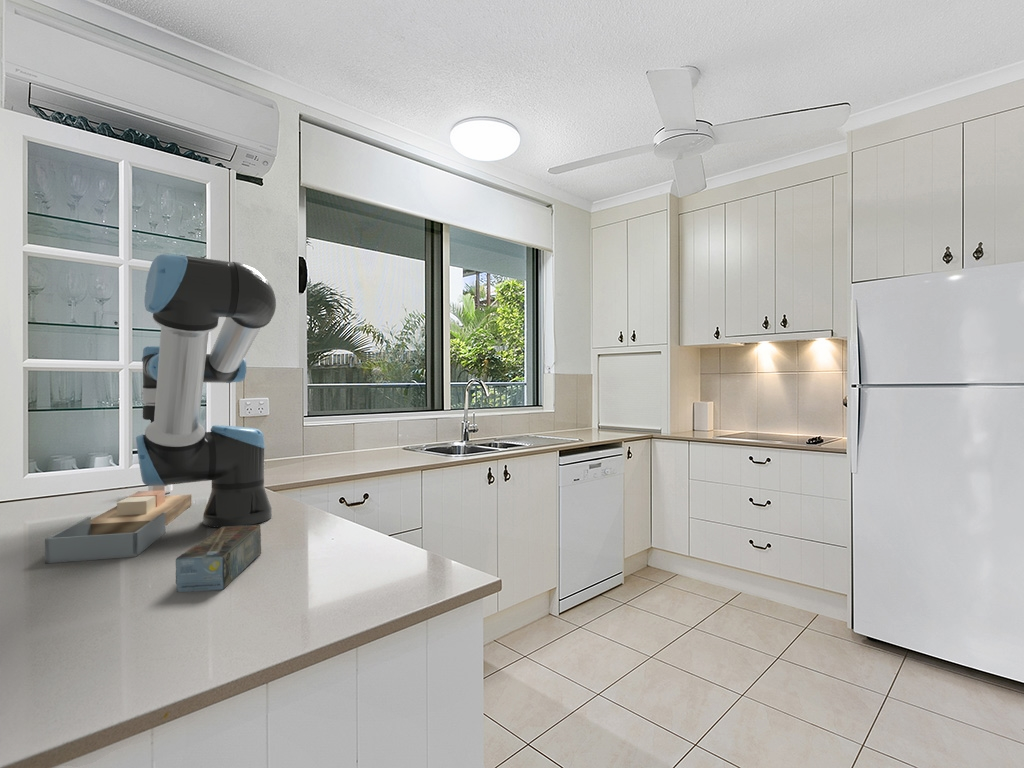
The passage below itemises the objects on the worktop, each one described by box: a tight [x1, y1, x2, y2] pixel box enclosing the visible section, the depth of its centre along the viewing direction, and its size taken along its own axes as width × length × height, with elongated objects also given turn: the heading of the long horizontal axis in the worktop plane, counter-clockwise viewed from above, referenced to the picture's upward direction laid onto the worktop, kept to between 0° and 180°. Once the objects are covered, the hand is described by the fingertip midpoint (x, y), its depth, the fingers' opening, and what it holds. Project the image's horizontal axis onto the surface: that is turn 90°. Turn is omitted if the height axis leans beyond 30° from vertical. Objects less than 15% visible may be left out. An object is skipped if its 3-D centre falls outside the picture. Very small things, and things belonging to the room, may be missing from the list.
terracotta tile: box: [128, 490, 166, 507], centre depth 137 cm, size 6×6×3 cm
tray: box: [44, 513, 166, 564], centre depth 113 cm, size 15×17×5 cm
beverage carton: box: [175, 523, 262, 592], centre depth 99 cm, size 8×19×7 cm, turn 7°
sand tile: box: [116, 496, 156, 516], centre depth 130 cm, size 6×6×3 cm
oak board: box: [91, 494, 192, 535], centre depth 134 cm, size 14×28×3 cm, turn 16°
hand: (159, 492), depth 146 cm, fingers closed
